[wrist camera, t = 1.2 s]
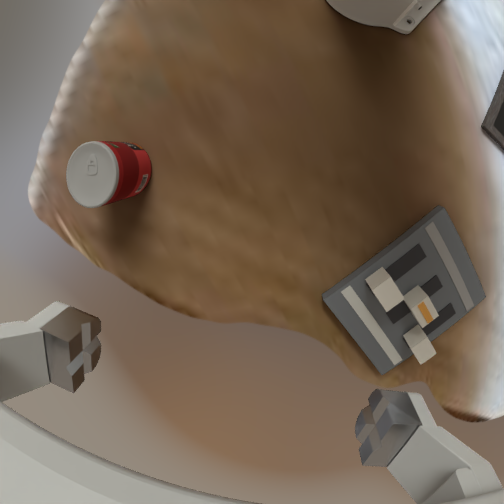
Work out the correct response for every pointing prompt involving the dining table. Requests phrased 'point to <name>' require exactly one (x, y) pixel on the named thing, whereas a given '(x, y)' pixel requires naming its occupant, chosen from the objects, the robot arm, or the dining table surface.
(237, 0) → the dining table surface
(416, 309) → the breaker mid
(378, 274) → the block
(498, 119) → the picture frame
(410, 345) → the breaker
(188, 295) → the dining table surface
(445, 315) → the panel
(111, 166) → the canned food
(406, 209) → the dining table surface
